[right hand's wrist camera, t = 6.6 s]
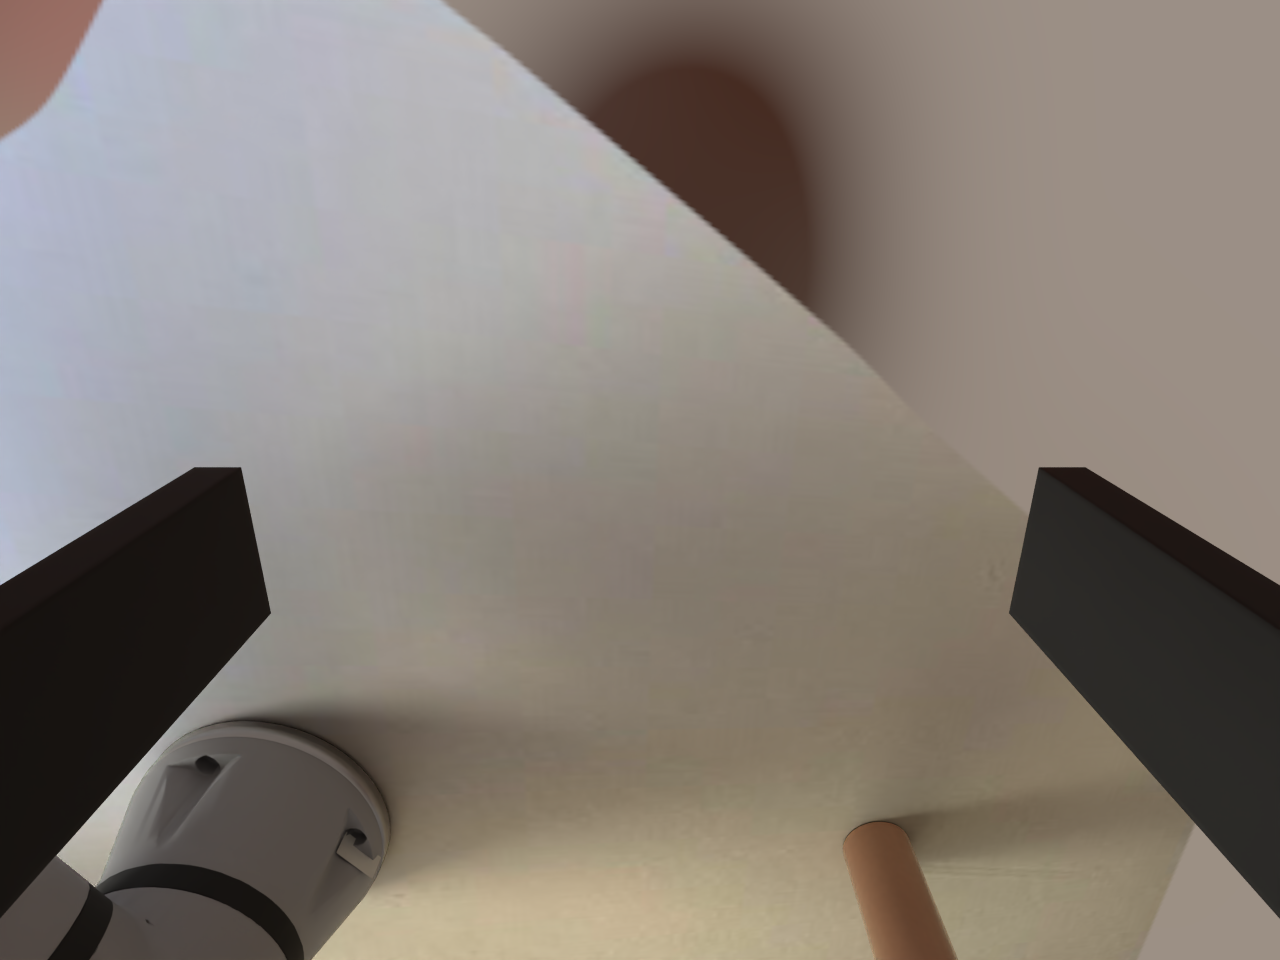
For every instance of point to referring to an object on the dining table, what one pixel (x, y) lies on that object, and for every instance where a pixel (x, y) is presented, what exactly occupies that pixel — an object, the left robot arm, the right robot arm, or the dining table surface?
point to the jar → (894, 895)
